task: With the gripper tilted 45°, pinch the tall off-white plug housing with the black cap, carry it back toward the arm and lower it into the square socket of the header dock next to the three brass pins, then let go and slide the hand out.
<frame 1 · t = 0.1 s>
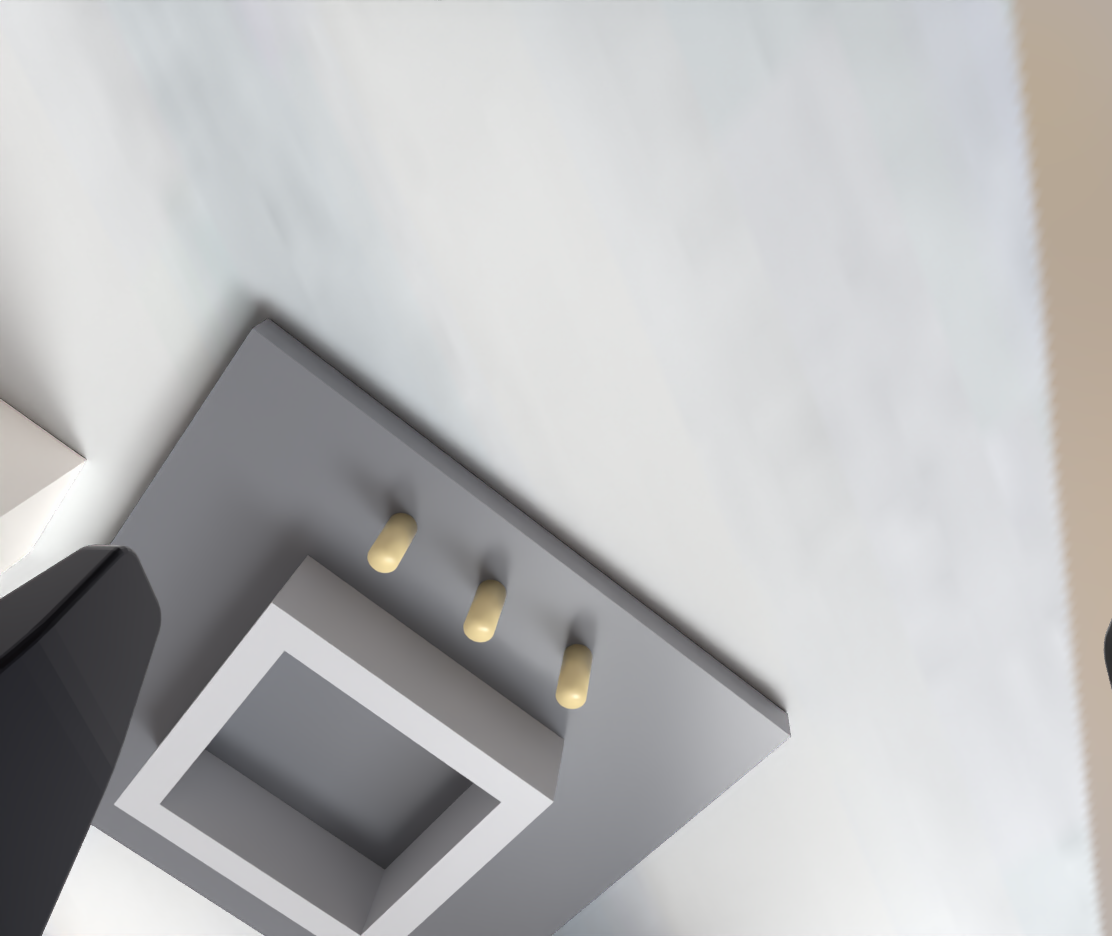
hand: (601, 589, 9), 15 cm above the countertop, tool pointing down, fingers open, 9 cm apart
header dock: (364, 722, 29), on the countertop
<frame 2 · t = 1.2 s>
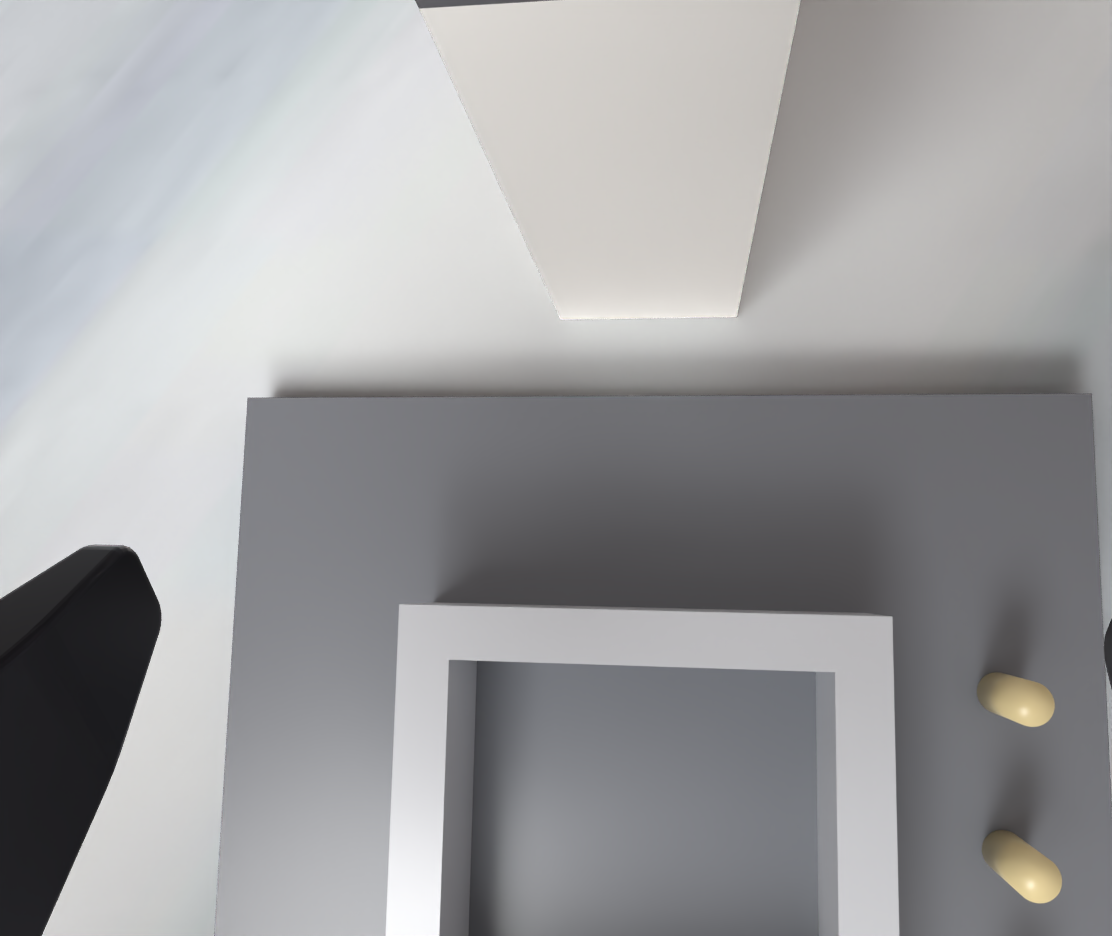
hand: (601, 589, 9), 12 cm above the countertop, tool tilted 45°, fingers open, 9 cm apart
plug housing: (648, 234, 22), on the countertop
header dock: (642, 819, 20), on the countertop
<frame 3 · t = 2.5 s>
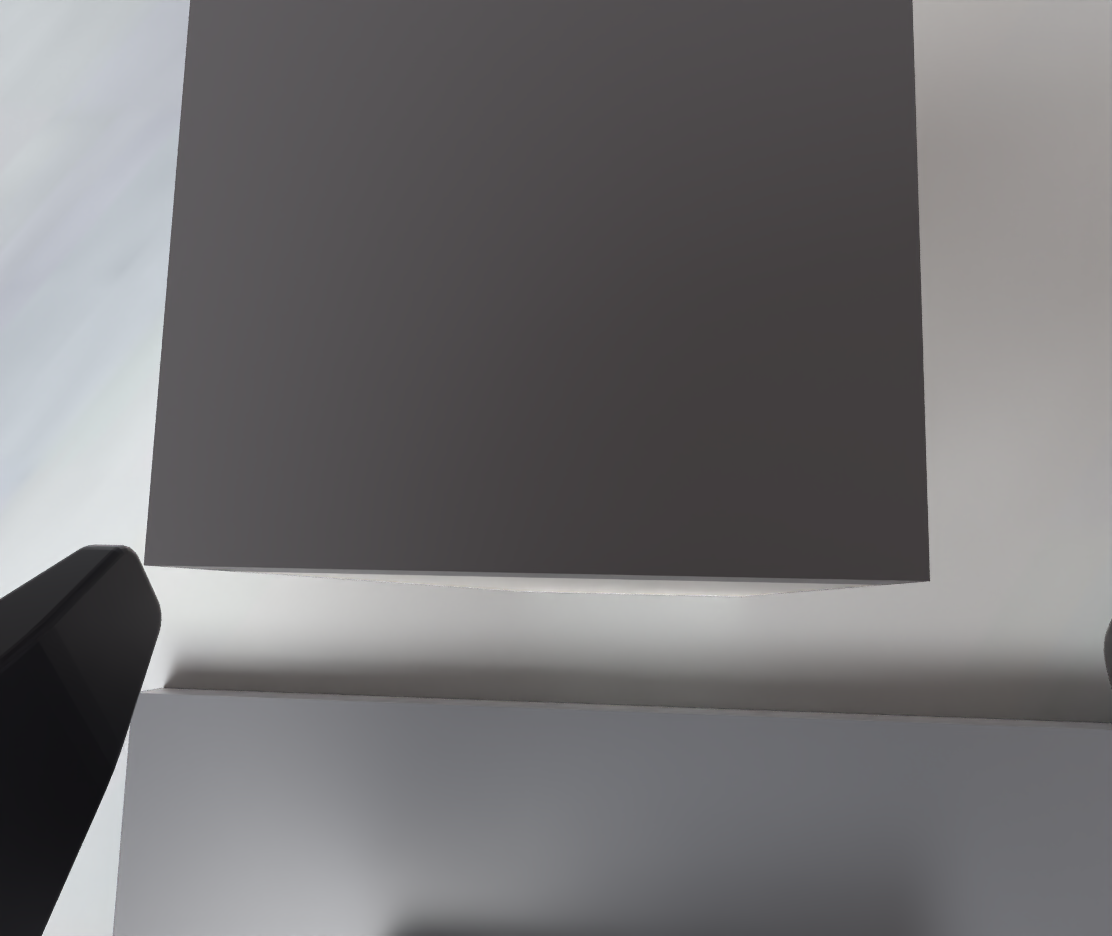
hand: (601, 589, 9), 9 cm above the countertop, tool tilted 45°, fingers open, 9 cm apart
plug housing: (631, 486, 18), on the countertop
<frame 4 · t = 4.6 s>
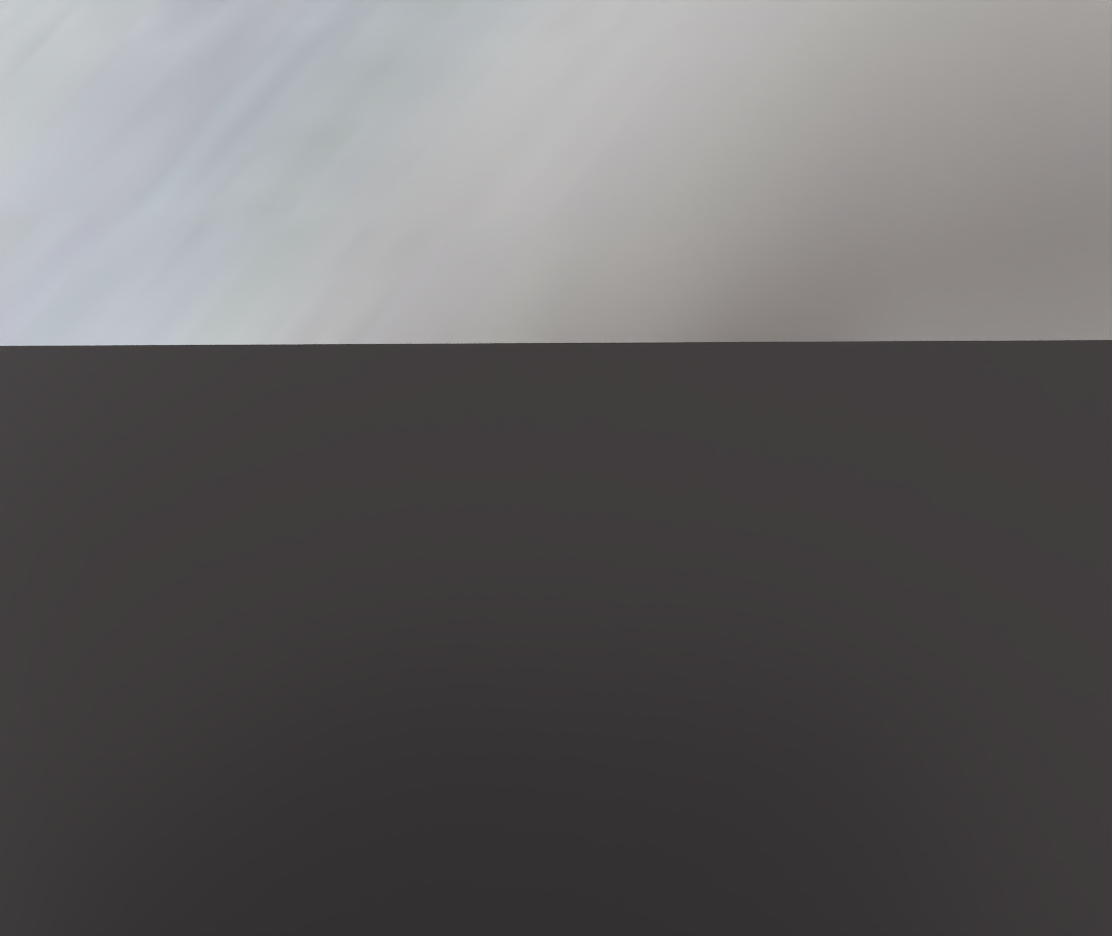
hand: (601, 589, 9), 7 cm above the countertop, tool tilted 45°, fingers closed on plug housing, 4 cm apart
plug housing: (632, 681, 15), on the countertop, touching gripper
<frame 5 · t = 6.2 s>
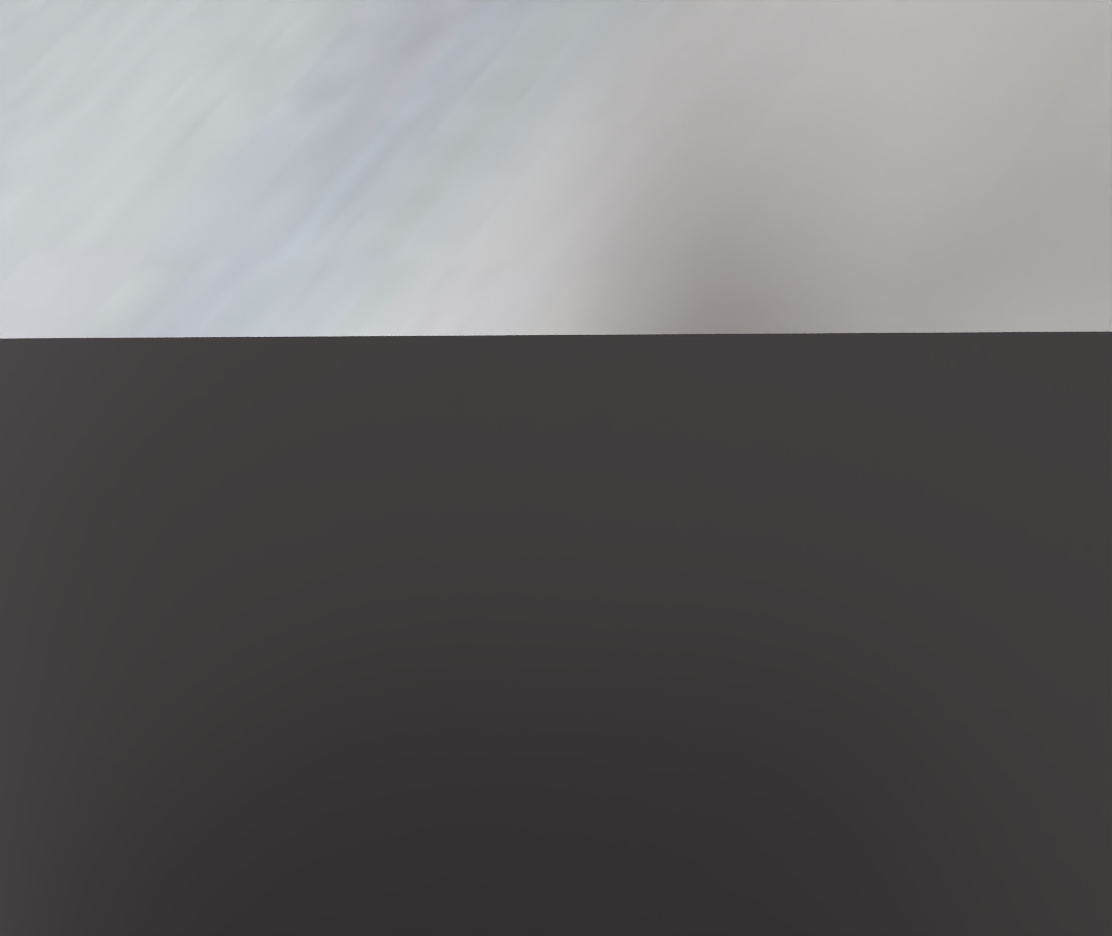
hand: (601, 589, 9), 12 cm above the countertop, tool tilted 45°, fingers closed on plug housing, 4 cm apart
plug housing: (632, 679, 15), point 6 cm above the countertop, touching gripper
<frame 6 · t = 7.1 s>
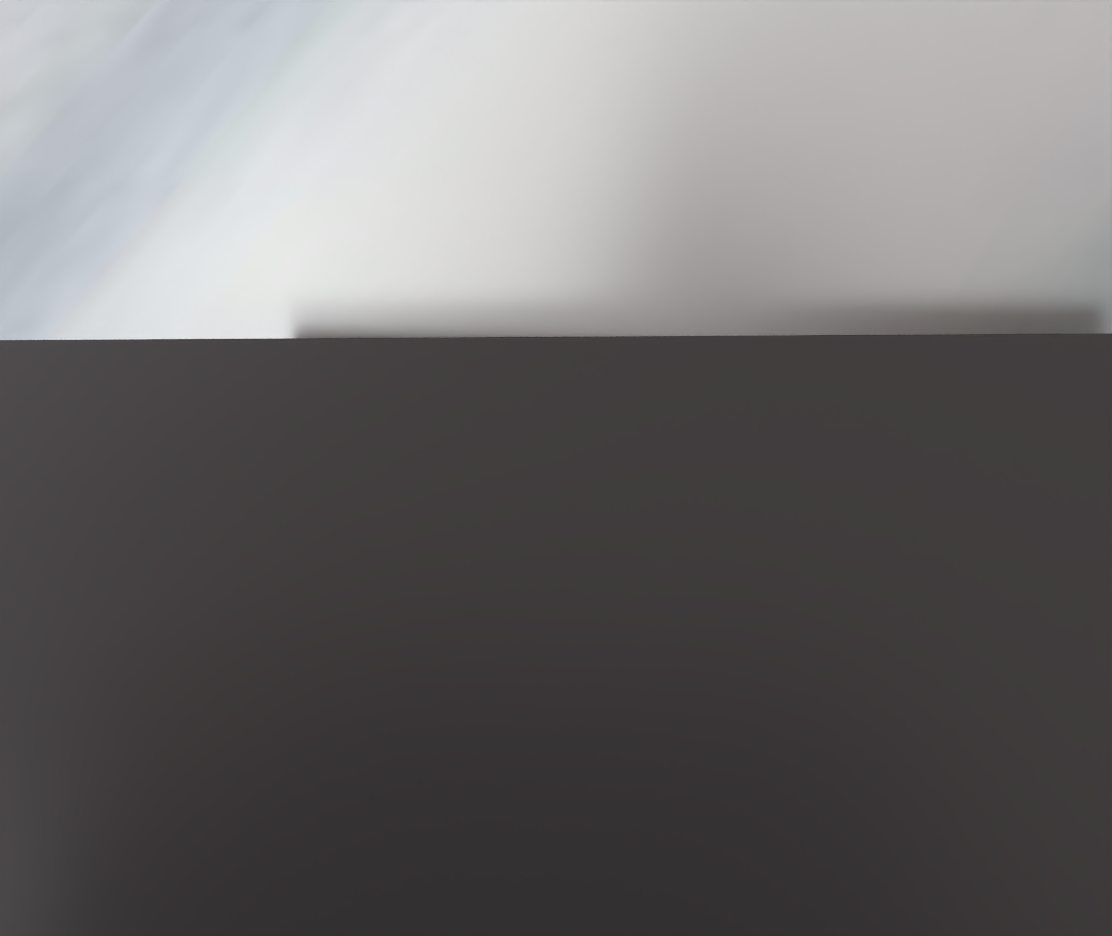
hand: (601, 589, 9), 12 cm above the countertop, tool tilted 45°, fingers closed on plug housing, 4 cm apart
plug housing: (632, 680, 15), point 6 cm above the countertop, touching gripper
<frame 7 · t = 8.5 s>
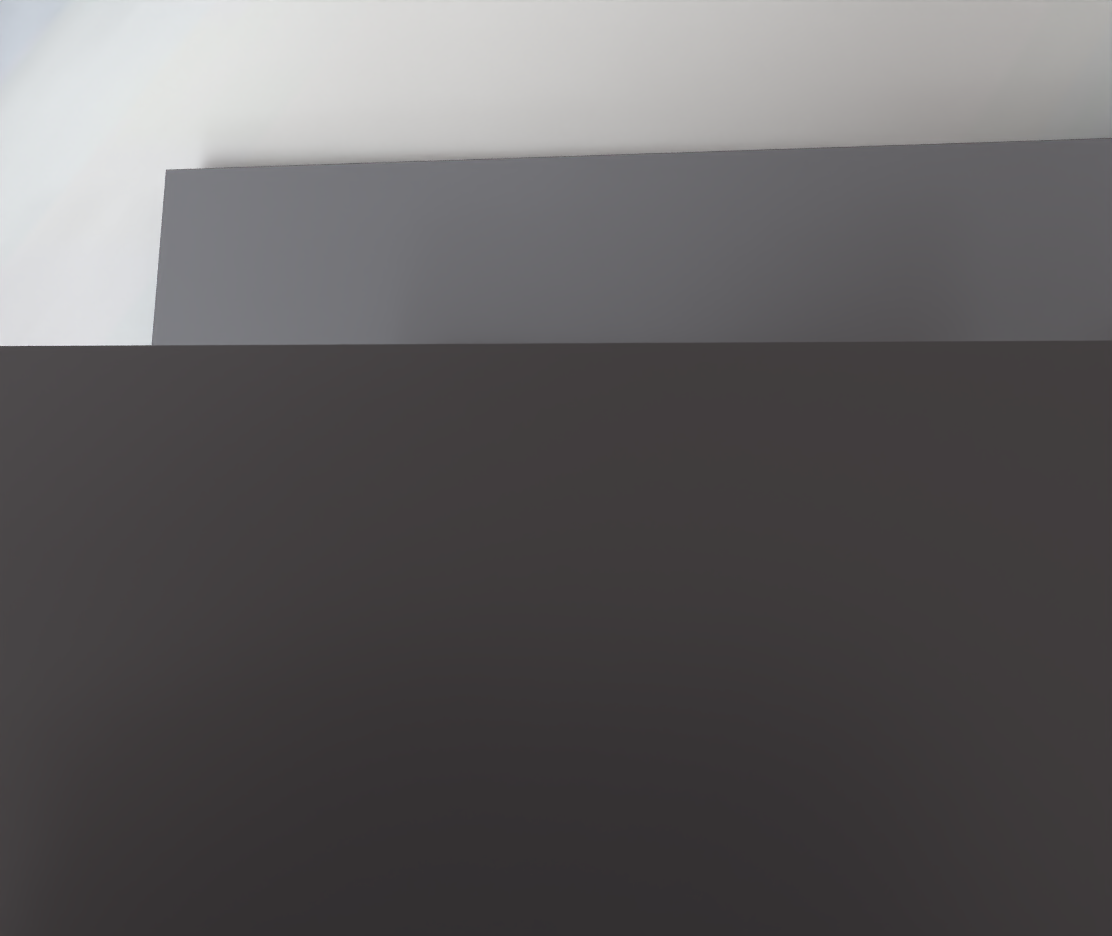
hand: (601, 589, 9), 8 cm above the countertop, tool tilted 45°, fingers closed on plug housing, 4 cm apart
plug housing: (632, 681, 15), point 2 cm above the countertop, touching gripper
header dock: (640, 668, 17), on the countertop
when the fingers open (8 cm above the countertop, at t = 9.5 s): plug housing stays where it is, resting on header dock.
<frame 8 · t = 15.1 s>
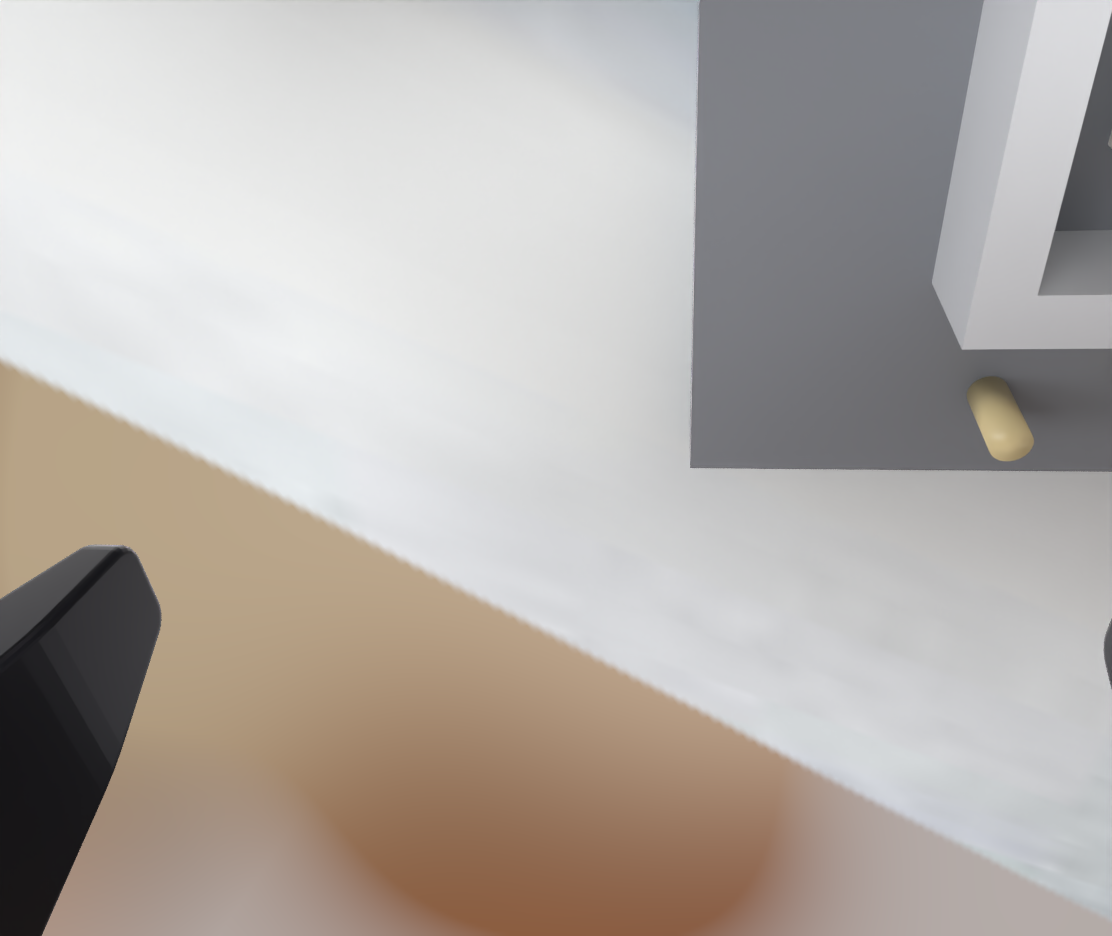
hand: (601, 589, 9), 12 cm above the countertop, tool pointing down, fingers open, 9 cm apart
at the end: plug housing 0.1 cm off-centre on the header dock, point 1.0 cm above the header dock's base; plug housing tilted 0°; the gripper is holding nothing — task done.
